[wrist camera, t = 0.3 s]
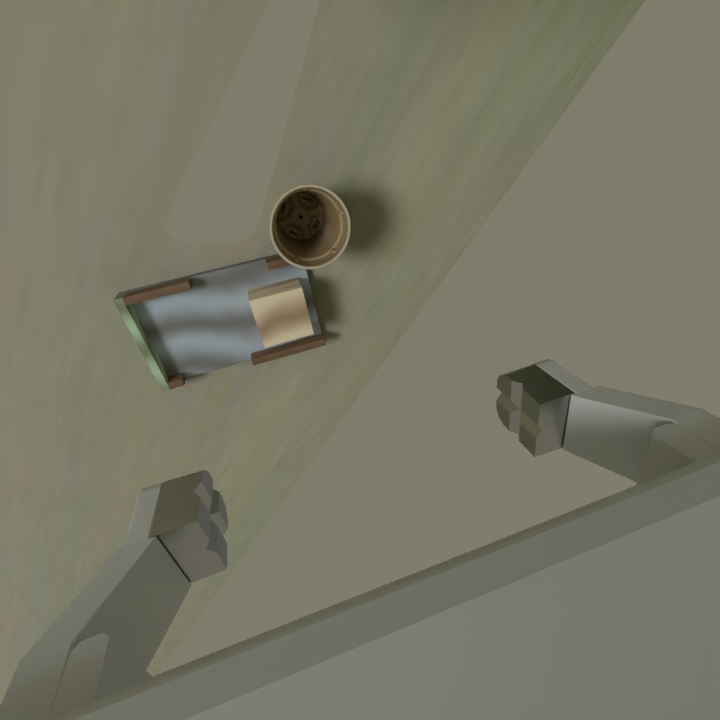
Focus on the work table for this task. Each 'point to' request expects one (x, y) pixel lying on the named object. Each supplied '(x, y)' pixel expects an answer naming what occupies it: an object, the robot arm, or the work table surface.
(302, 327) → the beech block
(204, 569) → the robot arm
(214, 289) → the channel
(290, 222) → the flower pot
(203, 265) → the work table surface
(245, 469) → the work table surface
